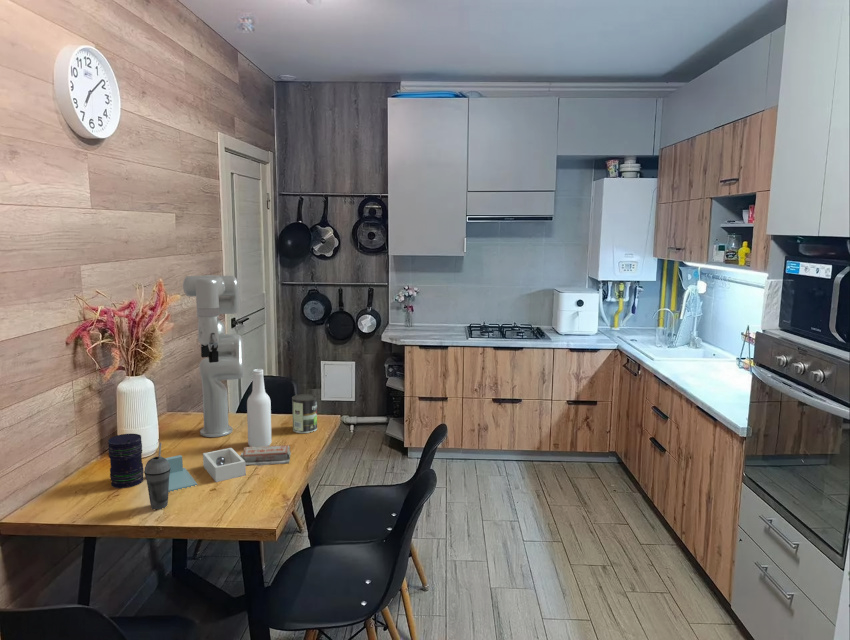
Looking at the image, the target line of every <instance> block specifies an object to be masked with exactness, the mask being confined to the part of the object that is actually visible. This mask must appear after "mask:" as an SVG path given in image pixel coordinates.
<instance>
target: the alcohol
mask: <svg viewBox="0 0 850 640" xmlns="http://www.w3.org/2000/svg"><path fill="white" fill-rule="evenodd" d="M264 379H265V378H264V369H263V368H256V369H252V391H251V393H250V394H249V395H248V398H247V401H246V410H247V411H246V415H247V420H246V421H247V444H248V447H257V446H258V447H259V446H271V444H272V410H271V409H272V406H271V402H272V401H271V398H270V396H269V395H268V393H267V392H266V389H265V388H266V387H265V380H264Z"/></svg>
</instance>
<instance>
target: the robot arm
mask: <svg viewBox="0 0 850 640" xmlns="http://www.w3.org/2000/svg"><path fill="white" fill-rule="evenodd" d="M182 290H183V292H184V294H185V295H186V297H195V300H196V301H195V305H196V317H197V319H198V320H197V341H198V343H200V356H201V358H203V359H201V361H200V362H199V365H198V369H199V370H198V371H199V375H200V380H201V388H202V406H203V407H202V411H203V427H202V428H201V429H200V430H199V434H200V436H202V437H205V438H219V437H223V436H227V435H230V434H231V433H232V432H233V426H231V425H230V424H229V403H228V402H229V401H228V399H229V398H228V397H229V396H228V389H227V387H226V385H225V384H223V382H222V381H227V380H229V381H231V380H232V381H233V380H240V379H242V378H243V377H244V376H245V373H246V372H245V371H246V362H245V359H246V358H245V342H244V339H243V336H241V335H240V334H237V333H227V334H226V326H225V324H224V323H223V321H222V320H220V318H219V317H220V315H234V314H237V313H239V312H240V309H241V296H240V294H241V291H240V284H239V280H238V278H236V276H234V275H213V274H207V275H187V276H185V277H184V279H183V283H182Z"/></svg>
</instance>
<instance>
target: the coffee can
mask: <svg viewBox="0 0 850 640" xmlns="http://www.w3.org/2000/svg"><path fill="white" fill-rule="evenodd" d="M317 399H318V396H317V395H316V394H312V393H302V394H296V395H293V396H292V397H291V402H292V432H294V433H297V434H310V432H311V433H314V432H316V431H317V430H318V400H317ZM313 431H314V432H313Z"/></svg>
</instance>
